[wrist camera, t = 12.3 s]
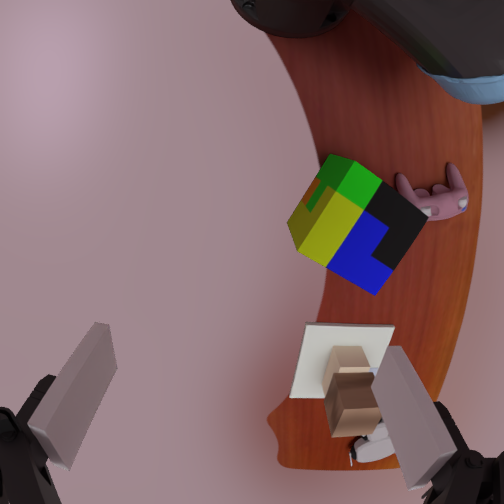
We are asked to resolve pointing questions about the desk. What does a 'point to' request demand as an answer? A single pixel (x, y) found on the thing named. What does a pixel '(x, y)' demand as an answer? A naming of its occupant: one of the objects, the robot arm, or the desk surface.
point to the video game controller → (437, 196)
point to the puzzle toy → (354, 223)
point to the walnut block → (351, 405)
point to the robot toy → (373, 445)
